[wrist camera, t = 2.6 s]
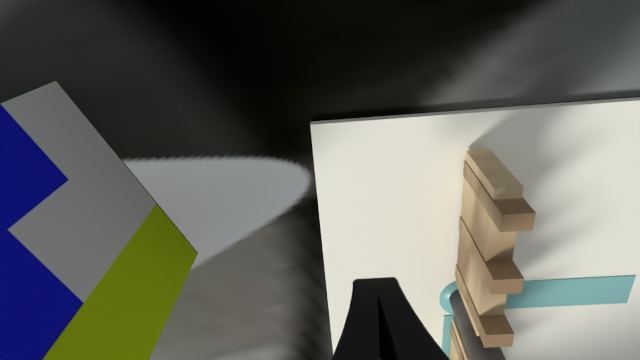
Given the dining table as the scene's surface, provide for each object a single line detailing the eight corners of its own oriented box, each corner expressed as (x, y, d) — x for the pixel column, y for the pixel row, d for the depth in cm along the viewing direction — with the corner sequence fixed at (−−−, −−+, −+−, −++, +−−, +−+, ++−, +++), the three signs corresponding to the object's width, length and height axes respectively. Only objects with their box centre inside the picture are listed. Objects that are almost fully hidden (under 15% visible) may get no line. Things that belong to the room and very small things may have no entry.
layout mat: (628, 406, 26) (633, 412, 25) (339, 415, 27) (340, 422, 26) (753, 88, 17) (764, 91, 16) (310, 121, 18) (310, 125, 17)
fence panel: (476, 281, 21) (510, 354, 17) (454, 282, 21) (483, 355, 17) (491, 149, 18) (538, 201, 14) (464, 150, 18) (503, 203, 14)
